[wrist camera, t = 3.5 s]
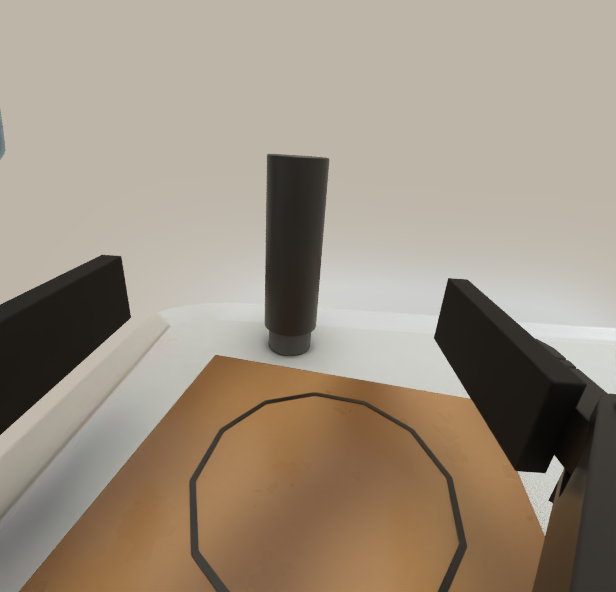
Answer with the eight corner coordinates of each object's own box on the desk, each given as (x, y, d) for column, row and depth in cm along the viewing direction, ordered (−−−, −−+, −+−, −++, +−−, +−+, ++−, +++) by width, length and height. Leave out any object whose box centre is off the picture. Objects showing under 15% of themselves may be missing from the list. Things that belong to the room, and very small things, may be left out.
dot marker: (257, 353, 22) (258, 154, 17) (272, 329, 25) (277, 153, 21) (308, 362, 22) (324, 158, 17) (318, 336, 25) (333, 157, 20)
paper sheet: (-27, 656, 9) (-31, 648, 9) (215, 358, 21) (215, 353, 21) (697, 920, 6) (709, 916, 6) (486, 406, 19) (488, 400, 19)
